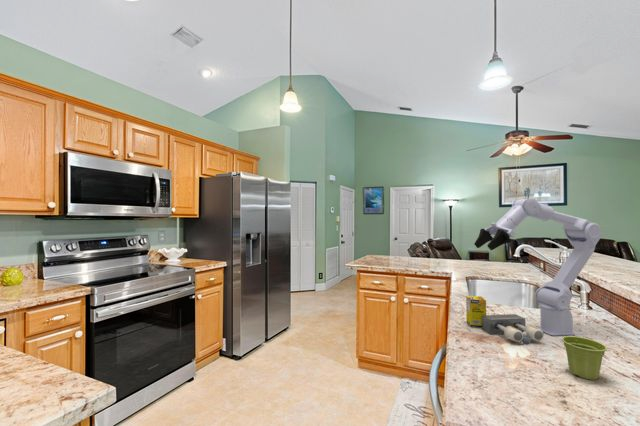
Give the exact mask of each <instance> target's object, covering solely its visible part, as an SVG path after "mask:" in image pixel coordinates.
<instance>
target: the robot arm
mask: <svg viewBox="0 0 640 426" xmlns="http://www.w3.org/2000/svg"><path fill="white" fill-rule="evenodd" d="M554 210H555V209H554V208H553V207H552V206H550V205H549V203H545V202H544V203H543V202H542V203H540V202H539V201H538V200H536V199H535V198H523V199H517V200H516V201H515V200H514V201H513V202H512V203H511V208H510V209H509V210H508V211H507V212H506V213H505V214H504V215H503V216H502V217H500V218H499V219H498V221H496V222H491V223H490V226H489V227H485V228H480V230H479V235H478V237H477V238H476V240H475V242H474V244H473V245H474V246H475V247H476V248H477V249H479V248H481V247H483V246H484V245H485V244H487V243H488V244H487V246H486V247H487V248H488V249H489V250H490V251H493V250H495V249H497V248H499V247H500V246H503V245H505V244H506V245H507V244H508V243H511V242H512V239H511V238H513V237H514V236H515V235H516V234H517V233H516V231H514V230H515V228H516V227H518V226H519V225H520V224H521V223H522V222H523V221H524V220H525V219H526V218H527V217H530V218H533V219H534V218H535V219H537V220H541V221H543V222H544V221H545V222H547V221H550V220H551V221H553V222H556V223H558V224H561V225H562V230H563V231H564V235H565V237H566V238H567V240H568V242H569V243H570V245H571V246H572V247H573V249H572V251H571V253H570V254H569V255H568V257H567V258H566V260H565V261H564V263H563V264H562V266H561V267H560V269H559V270H558V271H557V273H556V274H555V276H554V277H553V279H552V280H550V281H547V282H544V283H543V285H541V287H539V288H538V289H536V291H535V293H534V297H535V300H536V301H537V303H538V305H539V307H540V310H539V311H540V312H539V313H540V315H539V316H540V325H539V326H535V327H536V328H538V329H540V330H542V331H543V333H545V334H547V335H549V336H573V335H574V336H575V335H576V333H575V332H574V329H573V327H574V324H573V322H574V321H573V320H574V319H573V314H572V312H571V310H569V309H568V308H569V307H570V304H571V300H572V298H573V294H572V291H571V290H570V288H571V286H572V285H573V284H574V282H575V281H576V279H577V278H578V276H579V275H580V273H581V271H582V270H583V268H584V267H585V266H586V264H587V263H588V262H589V260H590V258H591V256H592V255H593V253H594V252H595V249H596V245H597V244H598V242H599V241H600V239H601V238H602V237H603V233H602V229H601V226H600V225H599V224H598V223H596V222H591V221H590V220H589V219H585V218H581V217H577V216H575V215H574V216H573V215H570V214H566V213H562V212H559V211H554ZM492 235H494V236H492Z"/></svg>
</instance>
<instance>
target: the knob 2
mask: <svg viewBox="0 0 640 426" xmlns="http://www.w3.org/2000/svg"><path fill="white" fill-rule="evenodd" d="M514 326H516V327H518V328H520V329H522V330H524V332H526V334H527V336H529V337H530V339H532V340H534V341H536V342H540V341H541V340H542V341H543V339H544V333H545V332H543V331H542V330H540V329H538V328H536V327H537V326H533V325H531V324H527V325H525V326H522V325H520V324H518V323H514Z"/></svg>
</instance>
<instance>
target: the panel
mask: <svg viewBox="0 0 640 426" xmlns="http://www.w3.org/2000/svg"><path fill="white" fill-rule="evenodd" d="M496 323H498V324H500V325H502V326H504V327H505V328H506V327H507V326H512V327H514V328H516V329H518V330H520V331H521V332H522V333H523V332H524V330H522V329H520V328H518V327H516V326H514V323H518V324H520V325H522V326H525V327H526V318H525V317H523V316H520V315H518V314H516V313H515V314H514V313H509V314H486V315H482V328H481V330H482V331H484V332H485V333H487V334H488V335H494V336H495V335H505V334H504V331H503V330H501V329H499V328H497V327H496V326H495V324H496Z"/></svg>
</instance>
